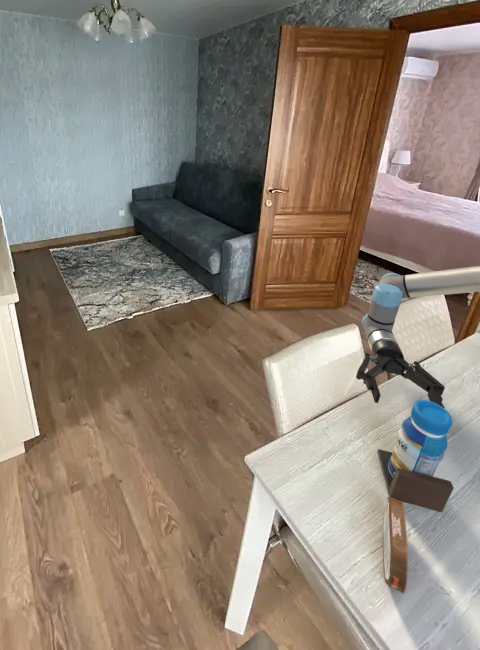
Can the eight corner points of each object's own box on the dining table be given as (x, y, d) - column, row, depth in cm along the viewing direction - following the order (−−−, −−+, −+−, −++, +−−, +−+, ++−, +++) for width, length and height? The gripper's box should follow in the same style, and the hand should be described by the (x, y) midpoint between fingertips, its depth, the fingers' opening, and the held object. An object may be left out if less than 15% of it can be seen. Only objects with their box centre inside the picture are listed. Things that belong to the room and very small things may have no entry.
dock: (377, 451, 86) (384, 428, 83) (422, 462, 84) (432, 439, 81) (389, 498, 76) (399, 474, 73) (442, 512, 73) (454, 488, 70)
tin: (400, 604, 60) (414, 577, 57) (380, 593, 61) (392, 566, 58) (396, 519, 72) (407, 493, 69) (379, 511, 73) (388, 485, 70)
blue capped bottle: (427, 503, 74) (457, 437, 66) (383, 477, 79) (406, 413, 71) (431, 473, 80) (459, 409, 73) (390, 451, 85) (412, 389, 77)
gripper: (429, 368, 101) (463, 429, 82) (337, 351, 107) (349, 404, 88) (437, 347, 98) (474, 405, 79) (342, 331, 104) (355, 382, 85)
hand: (408, 405), depth 83 cm, fingers open, 13 cm apart
